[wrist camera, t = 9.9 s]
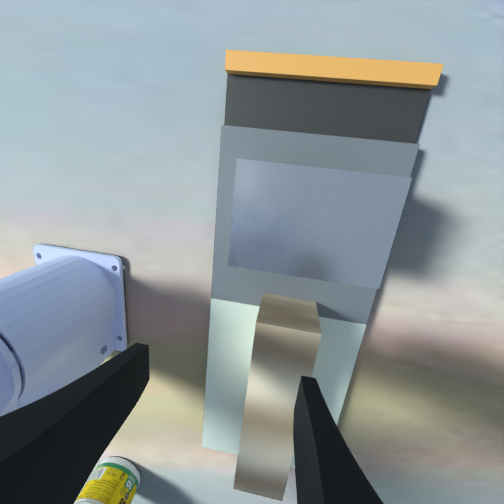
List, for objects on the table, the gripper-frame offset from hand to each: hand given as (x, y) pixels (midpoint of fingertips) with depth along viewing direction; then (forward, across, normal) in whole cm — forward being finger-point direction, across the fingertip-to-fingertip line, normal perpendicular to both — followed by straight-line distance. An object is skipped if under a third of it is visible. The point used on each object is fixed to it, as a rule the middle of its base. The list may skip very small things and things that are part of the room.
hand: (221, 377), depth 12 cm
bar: (+8, -3, +8) cm, 12 cm away
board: (+9, -3, +1) cm, 10 cm away
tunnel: (+9, -3, -7) cm, 12 cm away
